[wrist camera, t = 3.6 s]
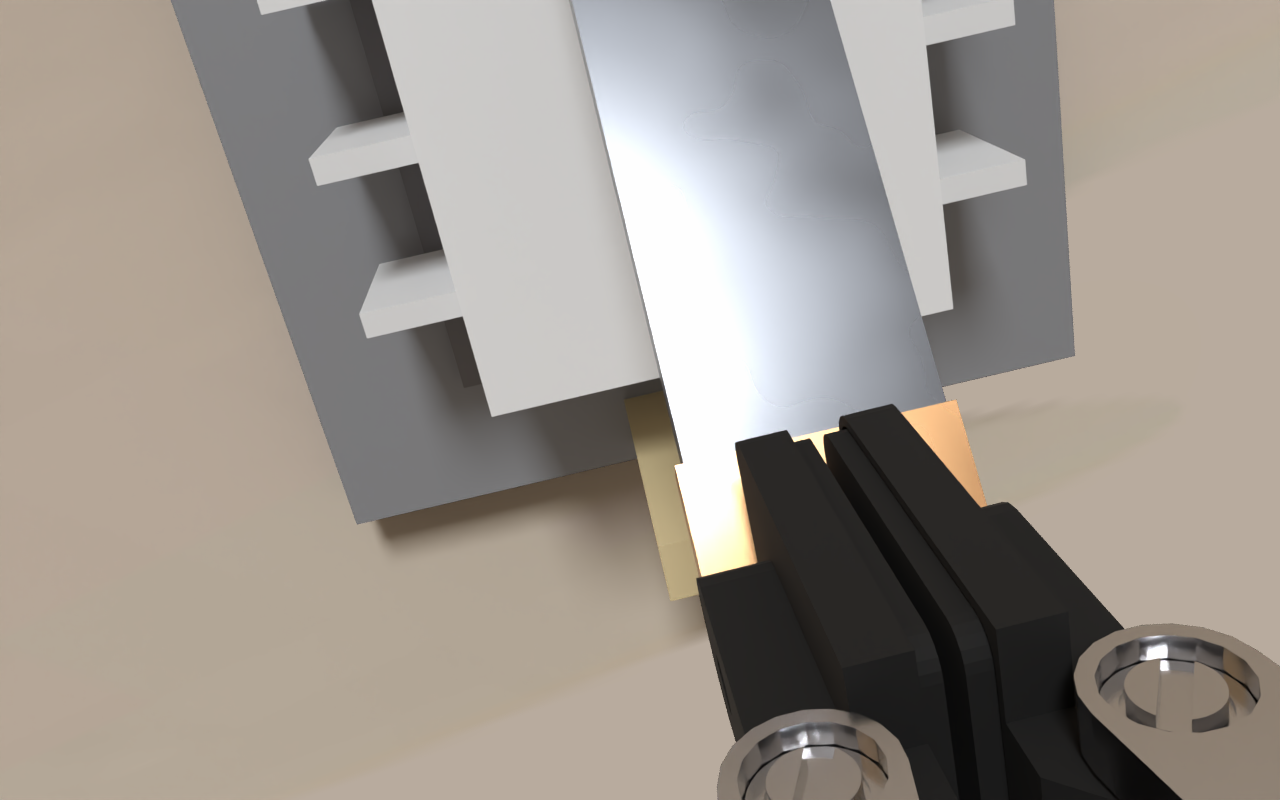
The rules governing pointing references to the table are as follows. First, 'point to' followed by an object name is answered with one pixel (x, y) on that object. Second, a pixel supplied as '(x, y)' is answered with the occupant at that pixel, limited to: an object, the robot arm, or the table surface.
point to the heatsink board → (412, 366)
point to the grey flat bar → (756, 240)
